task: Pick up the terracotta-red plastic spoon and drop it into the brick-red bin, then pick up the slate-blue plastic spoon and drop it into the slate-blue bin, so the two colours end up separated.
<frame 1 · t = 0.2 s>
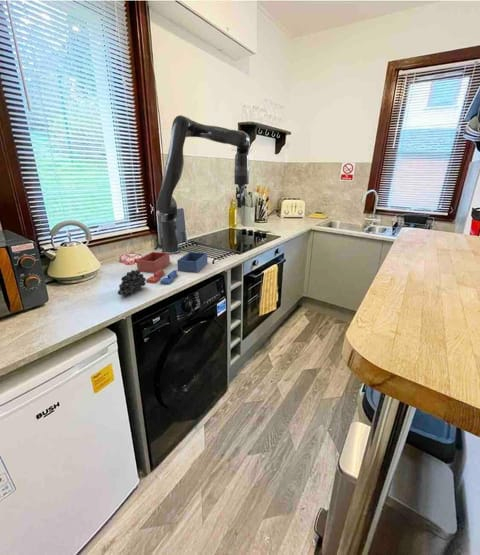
hand: (241, 206, 149), 29 cm above the table, tool pointing down, fingers open, 8 cm apart
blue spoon: (170, 279, 128), on the table
blue bin: (193, 266, 144), on the table
red bin: (154, 266, 144), on the table
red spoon: (157, 277, 130), on the table
fruit: (130, 292, 115), on the table
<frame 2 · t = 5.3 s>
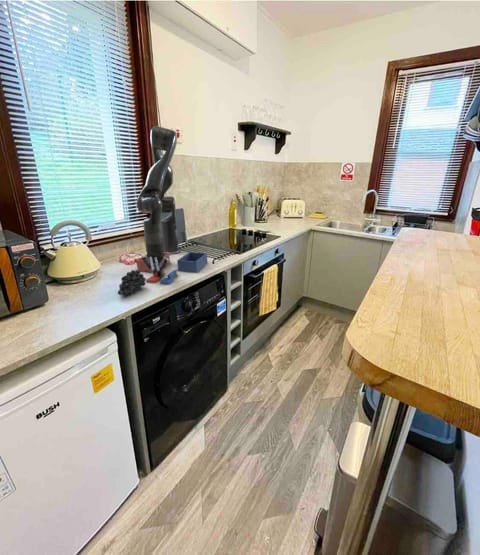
hand: (157, 277, 130), 0 cm above the table, tool pointing down, fingers closed
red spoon: (157, 277, 130), on the table, touching gripper
everything else where it was.
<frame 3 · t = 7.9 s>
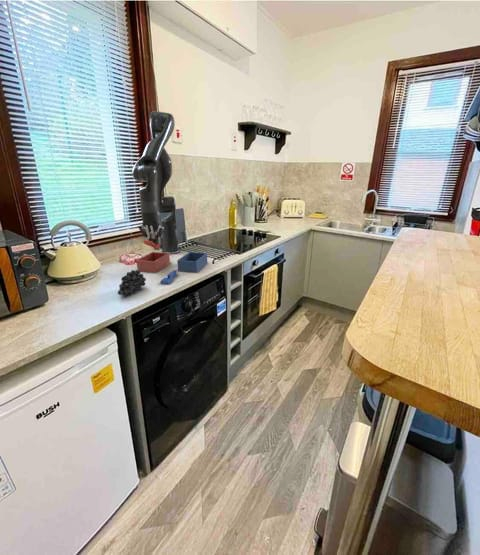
hand: (153, 245, 136), 13 cm above the table, tool pointing down, fingers closed on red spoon
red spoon: (152, 246, 135), point 12 cm above the table, tilted 32°, touching gripper
everything else where it was.
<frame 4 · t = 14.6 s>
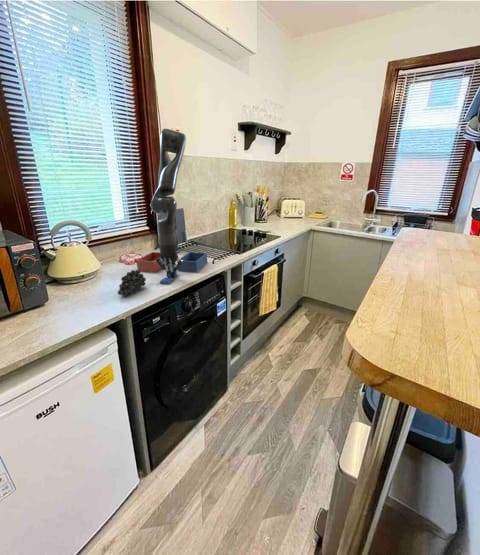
hand: (171, 278, 129), 0 cm above the table, tool pointing down, fingers closed on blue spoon
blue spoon: (170, 279, 128), on the table, touching gripper
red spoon: (153, 266, 143), point 1 cm above the table, touching red bin
everything else where it was.
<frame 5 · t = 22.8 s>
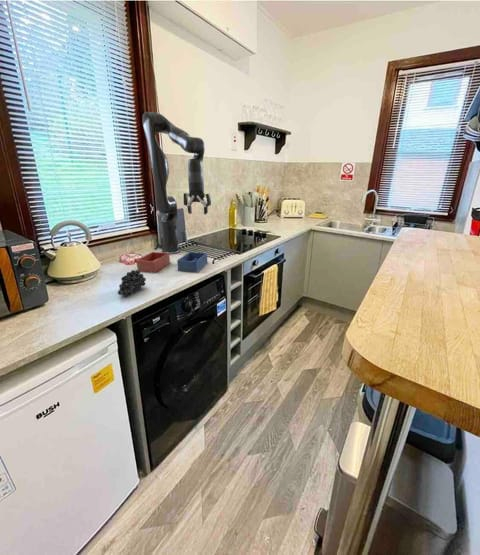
hand: (197, 213, 144), 26 cm above the table, tool pointing down, fingers open, 8 cm apart
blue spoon: (192, 266, 144), point 1 cm above the table, touching blue bin
everything else where it was.
at the end: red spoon inside the target area in the red bin (1.2 cm from its centre), point 0.6 cm above the red bin's base; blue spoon inside the target area in the blue bin (0.6 cm from its centre), point 0.6 cm above the blue bin's base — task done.
